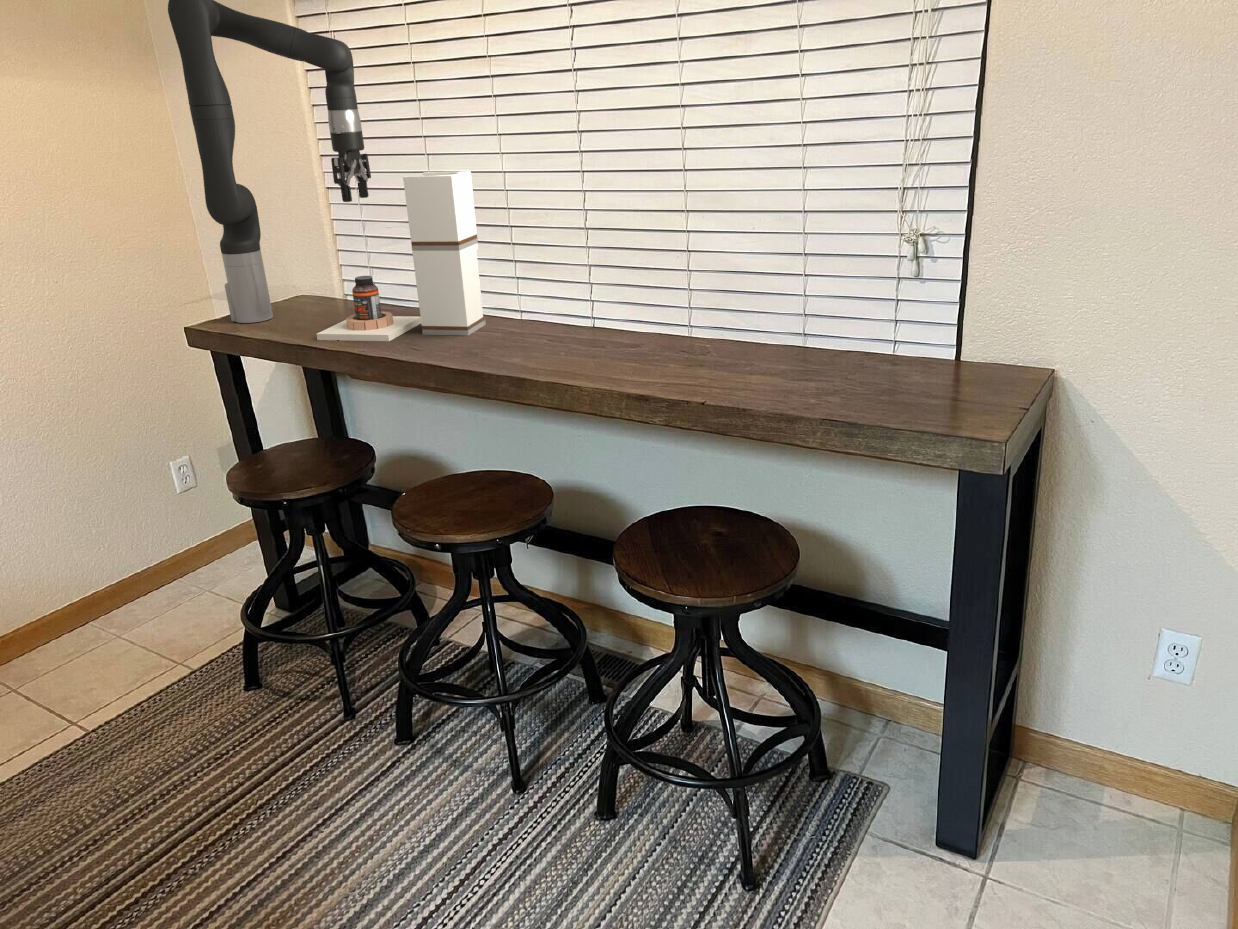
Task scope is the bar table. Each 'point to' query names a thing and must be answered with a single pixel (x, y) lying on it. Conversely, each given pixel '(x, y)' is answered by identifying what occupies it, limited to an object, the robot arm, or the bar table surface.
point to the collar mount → (370, 328)
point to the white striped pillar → (445, 252)
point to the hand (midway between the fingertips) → (356, 199)
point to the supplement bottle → (366, 299)
